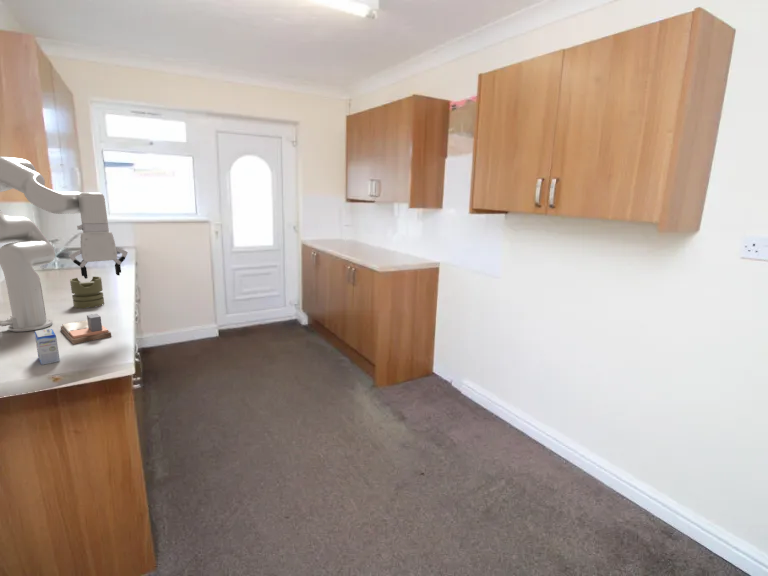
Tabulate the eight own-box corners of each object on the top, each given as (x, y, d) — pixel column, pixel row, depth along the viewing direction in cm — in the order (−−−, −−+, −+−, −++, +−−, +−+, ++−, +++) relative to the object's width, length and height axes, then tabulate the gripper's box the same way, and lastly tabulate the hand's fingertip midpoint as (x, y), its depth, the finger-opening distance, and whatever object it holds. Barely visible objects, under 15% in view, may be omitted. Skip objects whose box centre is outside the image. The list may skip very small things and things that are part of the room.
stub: (73, 338, 139) (71, 322, 138) (69, 333, 144) (66, 317, 142) (108, 332, 146) (106, 316, 145) (102, 327, 151) (100, 312, 150)
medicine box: (38, 357, 126) (33, 330, 125) (56, 354, 129) (52, 327, 128) (41, 365, 121) (36, 337, 119) (60, 361, 124) (56, 334, 122)
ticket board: (73, 344, 138) (72, 337, 138) (61, 330, 152) (60, 324, 151) (111, 336, 146) (110, 330, 146) (96, 324, 159) (95, 318, 159)
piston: (69, 278, 185) (99, 275, 192) (73, 304, 187) (103, 300, 194) (70, 282, 176) (102, 279, 183) (74, 309, 179) (105, 305, 185)
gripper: (65, 230, 136) (73, 280, 140) (126, 228, 148) (132, 275, 151) (63, 228, 142) (71, 277, 146) (122, 226, 153) (127, 272, 157)
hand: (102, 276), depth 148 cm, fingers open, 9 cm apart
